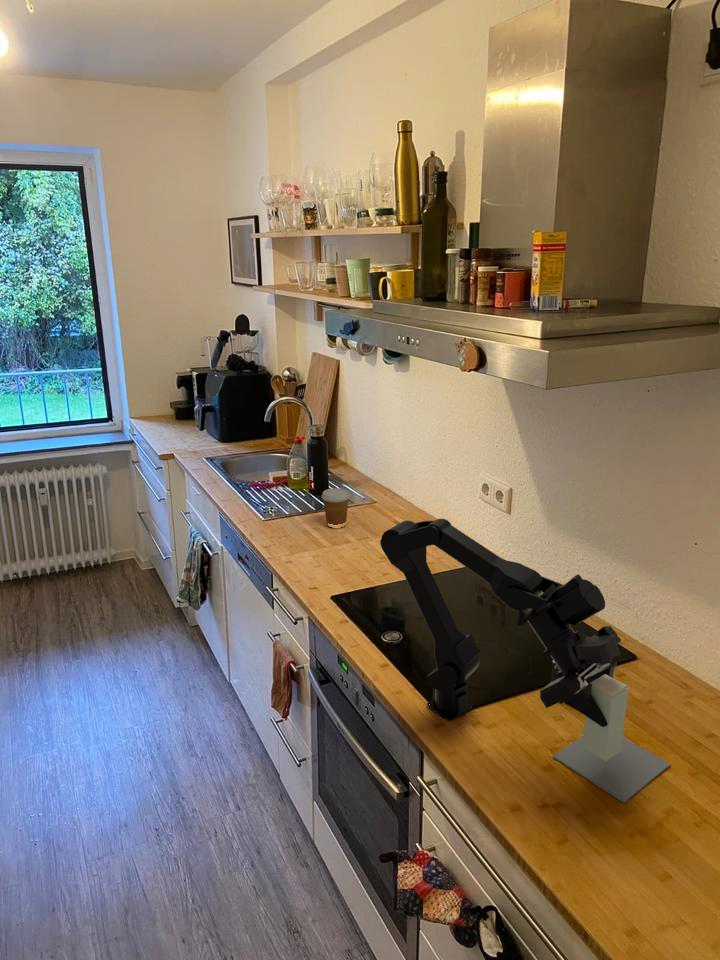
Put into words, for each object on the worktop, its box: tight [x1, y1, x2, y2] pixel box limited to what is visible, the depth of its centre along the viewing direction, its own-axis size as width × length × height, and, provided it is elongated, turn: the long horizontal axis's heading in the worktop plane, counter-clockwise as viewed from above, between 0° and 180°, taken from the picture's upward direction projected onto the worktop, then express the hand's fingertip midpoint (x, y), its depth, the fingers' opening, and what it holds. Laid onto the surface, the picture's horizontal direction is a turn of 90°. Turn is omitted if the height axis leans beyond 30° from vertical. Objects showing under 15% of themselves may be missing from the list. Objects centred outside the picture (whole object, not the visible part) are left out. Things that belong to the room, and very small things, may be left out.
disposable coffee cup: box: [321, 487, 351, 525], centre depth 234 cm, size 10×10×12 cm
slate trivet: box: [552, 735, 671, 804], centre depth 121 cm, size 14×14×1 cm
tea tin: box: [582, 674, 629, 761], centre depth 115 cm, size 4×4×13 cm
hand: (612, 718), depth 114 cm, fingers closed on tea tin, 5 cm apart
